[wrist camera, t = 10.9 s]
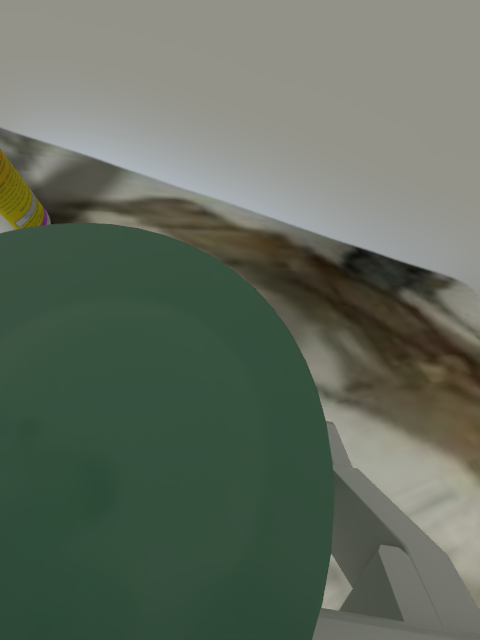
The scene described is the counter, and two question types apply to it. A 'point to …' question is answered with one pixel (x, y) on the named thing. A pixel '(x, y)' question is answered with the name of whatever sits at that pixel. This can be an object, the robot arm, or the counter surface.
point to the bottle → (153, 446)
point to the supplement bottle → (18, 201)
